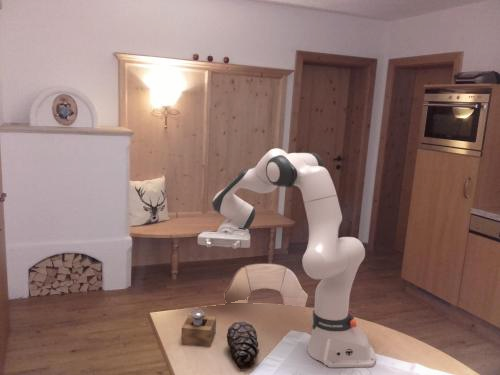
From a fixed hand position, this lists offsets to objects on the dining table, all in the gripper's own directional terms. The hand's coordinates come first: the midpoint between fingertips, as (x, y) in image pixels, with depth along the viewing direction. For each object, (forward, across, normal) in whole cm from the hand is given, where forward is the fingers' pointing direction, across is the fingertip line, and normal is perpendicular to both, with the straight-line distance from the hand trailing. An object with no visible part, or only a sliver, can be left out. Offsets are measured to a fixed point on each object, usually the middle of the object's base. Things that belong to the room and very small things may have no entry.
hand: (221, 246), depth 165 cm
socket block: (+13, -5, +30) cm, 33 cm away
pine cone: (+22, +12, +30) cm, 39 cm away
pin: (+14, -5, +30) cm, 33 cm away
